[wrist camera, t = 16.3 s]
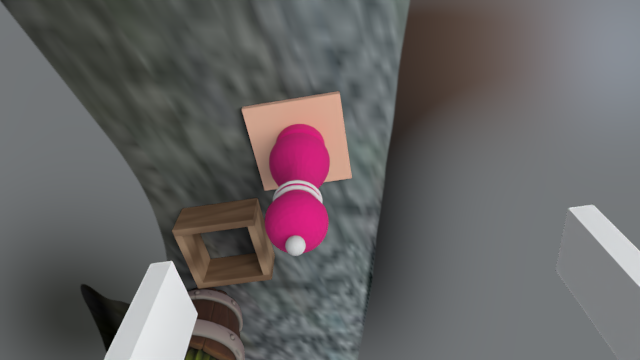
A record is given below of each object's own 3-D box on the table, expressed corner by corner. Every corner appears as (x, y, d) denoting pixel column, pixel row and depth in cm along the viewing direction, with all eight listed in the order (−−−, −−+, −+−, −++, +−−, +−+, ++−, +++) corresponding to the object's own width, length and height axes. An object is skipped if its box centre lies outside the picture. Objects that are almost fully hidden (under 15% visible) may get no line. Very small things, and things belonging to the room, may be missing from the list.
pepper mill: (301, 108, 49) (296, 203, 32) (340, 147, 52) (354, 254, 35) (260, 144, 51) (235, 250, 34) (299, 179, 54) (293, 294, 37)
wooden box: (182, 208, 58) (171, 230, 53) (257, 197, 57) (252, 219, 52) (206, 264, 63) (198, 288, 59) (274, 255, 62) (271, 279, 58)
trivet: (242, 106, 49) (241, 109, 49) (339, 91, 49) (339, 93, 48) (265, 187, 56) (264, 190, 55) (351, 175, 55) (351, 178, 54)
